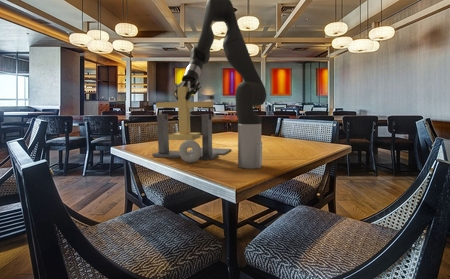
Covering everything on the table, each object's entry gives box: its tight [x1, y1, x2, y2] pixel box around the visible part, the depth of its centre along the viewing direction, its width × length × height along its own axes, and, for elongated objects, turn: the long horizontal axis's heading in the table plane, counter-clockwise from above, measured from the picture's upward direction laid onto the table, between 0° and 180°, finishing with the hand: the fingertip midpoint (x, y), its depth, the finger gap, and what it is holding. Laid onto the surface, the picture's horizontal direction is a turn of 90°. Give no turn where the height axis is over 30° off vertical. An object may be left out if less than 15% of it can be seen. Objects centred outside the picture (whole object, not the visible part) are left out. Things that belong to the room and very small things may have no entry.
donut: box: [178, 140, 202, 164], centre depth 112 cm, size 10×4×10 cm, turn 76°
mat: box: [187, 147, 232, 156], centre depth 138 cm, size 20×14×1 cm
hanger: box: [155, 87, 214, 141], centre depth 123 cm, size 28×10×24 cm, turn 73°
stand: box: [151, 113, 219, 161], centre depth 125 cm, size 30×10×20 cm, turn 73°
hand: (181, 99), depth 121 cm, fingers closed on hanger, 4 cm apart
